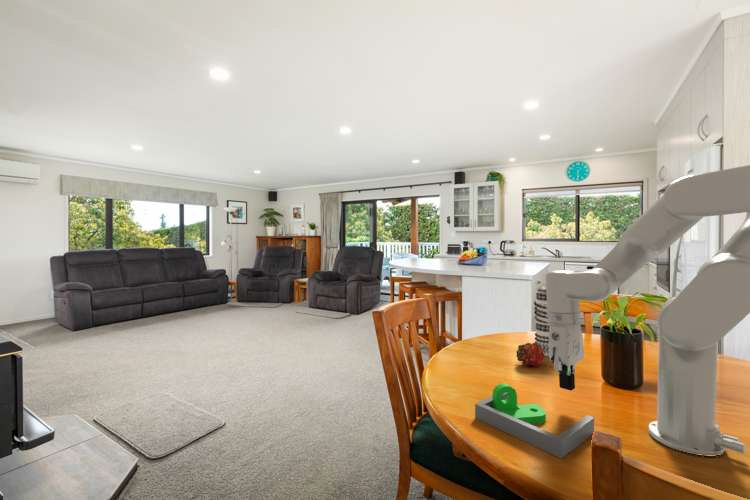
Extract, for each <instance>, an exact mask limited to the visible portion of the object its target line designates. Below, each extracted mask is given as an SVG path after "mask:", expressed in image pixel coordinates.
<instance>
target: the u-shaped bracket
mask: <svg viewBox="0 0 750 500" xmlns="http://www.w3.org/2000/svg"><path fill="white" fill-rule="evenodd" d="M507 397H508V393H504V394H503V395H502V397H501V400H505V399H506V398H507ZM474 408H475V409H474V412H475V414H474V416H475V417H474V418H475V419H476V420H479V421H481V422H483V423H485V424H487V425H489V426H492V427H494V428H496V429H498V430H500V431H502V432H504V433H507V434H509V435H510V436H512V437H515V438H517V439H519V440H521V441H523V442H525V443H527V444H529V445H532V446H533V447H536V448H538V449H540V450H542V451H545V452H546V451H547V452H546V453H548V452H549V453H548V454H550V453H551V454H550V455H552V454H554V455H553V456H555V457H557V456H558V457H557V458H559V457H560V458H559V459H561V458H562V459H564V458H565V457H566V456H567V455H569V454H570V453H571V452H573V451H574V450H575V449H577V447H579V446H580V445H581V444H583V442H584V441H585V439H586V438H587V437H588V438H589V437H590V436H592V435H593V434H594V433H595V417H594V416H591V415H588V414H587V415H585V416H584V417H582V418H581V419H579V420H578V421H577V422H576V423H574V424H573V425H571V426H570V427H569V428H566V430H564V431H563V432H562V433H560V434H559V435H556V434H554V433H551V432H549V431H547V430H545V429H542V428H540V427H538V426H535V425H534V424H529V423H526V422H524V421H522V420H519V419H517V418H515V417H512V416H510V415H508V414H505V413H503V412H501V411H498V410H496V409H494V408H493V395H491V396H490V397H486V398H485V399H482V400H480V401H478V402H476V403H475V405H474ZM593 432H594V433H593ZM592 433H593V434H592ZM588 438H587V439H588ZM587 439H586V440H587ZM574 448H575V449H574ZM570 451H571V452H570ZM569 452H570V453H569ZM568 453H569V454H568ZM566 454H567V455H566ZM565 455H566V456H565ZM564 456H565V457H564ZM563 457H564V458H563Z"/></svg>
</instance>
